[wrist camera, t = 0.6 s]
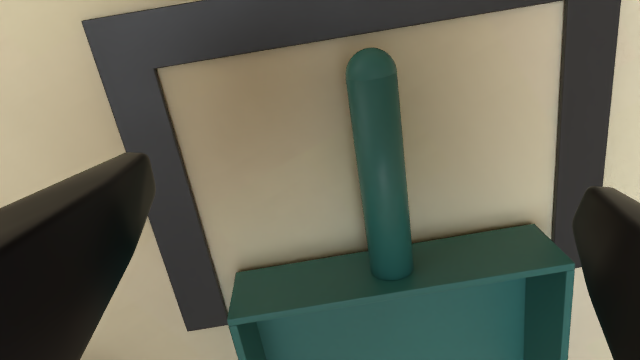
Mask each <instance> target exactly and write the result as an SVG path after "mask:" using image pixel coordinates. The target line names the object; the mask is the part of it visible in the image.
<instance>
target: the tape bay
mask: <svg viewBox="0 0 640 360" xmlns="http://www.w3.org/2000/svg"><path fill="white" fill-rule="evenodd" d="M556 1H562V0H202V1H196V2H190V3H185V4H179V5H173V6H167V7H161V8H155V9H149V10H143V11H137V12H131V13H125V14H119V15H113V16H107V17H101V18H95V19H89V20H83V21H82V25H83V27H84V30H85V33H86V36H87V39H88V42H89V45H90V48H91V51H92V54H93V57H94V60H95V63H96V65H97V68H98V71H99V74H100V77H101V80H102V83H103V86H104V89H105V92H106V95H107V98H108V101H109V103H110V106H111V109H112V112H113V115H114V118H115V121H116V124H117V127H118V130H119V133H120V136H121V139H122V141H123V144H124V147H125V150H126V152H134V153H145V154H146V155H147V156H148V157H149V159H150V163H151V167H152V172H153V176H154V181H155V186H156V192H155V197H154V200H153V202H152V205H151V208H150V211H149V213H148V217H149V220H150V223H151V226H152V229H153V232H154V235H155V238H156V241H157V244H158V247H159V250H160V253H161V255H162V258H163V261H164V264H165V267H166V270H167V273H168V276H169V279H170V282H171V285H172V288H173V291H174V293H175V296H176V299H177V302H178V305H179V308H180V311H181V314H182V317H183V320H184V323H185V326H186V329H187V331H194V330H200V329H206V328H212V327H218V326H224V325H228V322H227V318H228V314H227V311H226V307H225V304H224V300H223V297H222V294H221V290H220V287H219V283H218V280H217V277H216V273H215V270H214V266H213V263H212V259H211V256H210V253H209V249H208V246H207V242H206V239H205V235H204V232H203V229H202V225H201V222H200V218H199V215H198V212H197V208H196V205H195V201H194V198H193V194H192V191H191V188H190V184H189V181H188V177H187V174H186V170H185V167H184V164H183V160H182V157H181V153H180V150H179V147H178V143H177V140H176V136H175V133H174V129H173V126H172V123H171V119H170V116H169V112H168V109H167V105H166V102H165V99H164V95H163V92H162V88H161V85H160V82H159V78H158V75H157V71H156V68H161V67H167V66H173V65H179V64H185V63H191V62H197V61H203V60H209V59H215V58H221V57H227V56H233V55H239V54H245V53H251V52H257V51H263V50H269V49H275V48H281V47H287V46H293V45H299V44H305V43H311V42H317V41H323V40H329V39H335V38H341V37H347V36H353V35H359V34H365V33H371V32H377V31H383V30H389V29H395V28H401V27H407V26H413V25H419V24H425V23H430V22H436V21H442V20H448V19H454V18H460V17H466V16H472V15H478V14H484V13H490V12H496V11H502V10H508V9H514V8H520V7H526V6H532V5H538V4H544V3H550V2H556ZM620 6H621V0H565V6H564V25H563V43H562V62H561V80H560V99H559V117H558V135H557V154H556V172H555V191H554V209H553V228H552V241H553V242H554V243H555V244H556V245H557V246H558V247H559V248H560V249H561V250H562V251H563V252H564V253H565V254H566V255H567V256H568V257H569V258H570V259H571V260H572V261H573V262H574V263H575V268H579V267H582V266H581V262H580V258H579V254H578V250H577V246H576V242H575V238H574V234H573V229H572V222H573V218H574V215H575V213H576V211H577V209H578V206H579V204H580V202H581V200H582V197H583V195H584V193H585V191H586V190H587V189H588V188H589V187H592V186H598V187H602V186H603V176H604V166H605V156H606V146H607V136H608V126H609V116H610V106H611V96H612V86H613V76H614V66H615V56H616V46H617V36H618V26H619V16H620Z"/></svg>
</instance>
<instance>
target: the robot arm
mask: <svg viewBox="0 0 640 360" xmlns="http://www.w3.org/2000/svg"><path fill="white" fill-rule="evenodd" d="M155 192H156V186H155V181H154V176H153V172H152V167H151V163H150V159H149V157H148V156H147V155H146V154H145V153H134V152H126V153H124V154H121V155H119V156H117V157H115V158H112V159H110V160H108V161H106V162H103V163H101V164H99V165H97V166H94V167H92V168H90V169H88V170H85V171H83V172H81V173H79V174H76V175H74V176H72V177H70V178H67V179H65V180H63V181H61V182H58V183H56V184H54V185H52V186H49V187H47V188H45V189H43V190H40V191H38V192H36V193H34V194H31V195H29V196H27V197H25V198H22V199H20V200H18V201H16V202H13V203H11V204H9V205H7V206H4V207H2V208H0V360H80V359H81V357H82V355H83V353H84V351H85V349H86V347H87V345H88V343H89V341H90V339H91V337H92V335H93V333H94V331H95V329H96V327H97V325H98V323H99V321H100V319H101V317H102V315H103V313H104V311H105V309H106V307H107V305H108V303H109V302H110V300H111V298H112V296H113V294H114V292H115V290H116V288H117V286H118V284H119V282H120V280H121V278H122V276H123V274H124V272H125V270H126V268H127V266H128V264H129V262H130V260H131V258H132V256H133V253H134V251H135V249H136V246H137V243H138V241H139V238H140V235H141V232H142V230H143V227H144V224H145V222H146V219H147V216H148V213H149V211H150V208H151V205H152V202H153V200H154V197H155ZM572 229H573V234H574V238H575V242H576V246H577V250H578V254H579V258H580V262H581V266H582V270H583V274H584V278H585V282H586V285H587V289H588V292H589V296H590V298H591V301H592V304H593V307H594V309H595V312H596V315H597V317H598V320H599V322H600V325H601V328H602V330H603V333H604V336H605V338H606V341H607V343H608V346H609V349H610V351H611V354H612V356H613V359H614V360H640V203H639V202H637V201H635V200H634V199H632V198H630V197H628V196H626V195H625V194H623V193H621V192H619V191H618V190H616V189H614V188H610V187H598V186H592V187H589V188H588V189H587V190H586V191H585V193H584V195H583V197H582V200H581V202H580V204H579V206H578V209H577V211H576V213H575V215H574V218H573V222H572Z"/></svg>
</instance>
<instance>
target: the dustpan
mask: <svg viewBox="0 0 640 360" xmlns="http://www.w3.org/2000/svg"><path fill="white" fill-rule="evenodd" d="M346 85H347V92H348V100H349V108H350V115H351V123H352V130H353V138H354V146H355V153H356V161H357V169H358V176H359V184H360V191H361V199H362V207H363V214H364V222H365V230H366V237H367V245H368V251H365V252H358V253H352V254H346V255H340V256H334V257H328V258H322V259H316V260H310V261H304V262H298V263H291V264H285V265H279V266H273V267H267V268H261V269H255V270H249V271H243V272H237V273H236V277H235V282H234V287H233V292H232V297H231V302H230V307H229V312H228V318H227V322H228V325H229V329H230V332H231V336H232V339H233V343H234V346H235V349H236V353H237V356H238V360H568V348H569V335H570V322H571V310H572V297H573V284H574V269H575V263H574V262H573V261H572V260H571V259H570V258H569V257H568V256H567V255H566V254H565V253H564V252H563V251H562V250H561V249H560V248H559V247H558V246H557V245H556V244H555V243H554V242H553V241H552V240H550V239H549V238H548V237H547V236H546V235H545V234H544V233H543V232H542V231H541V230H540V229H539V228H538V227H537V226H536V225H535V224H529V225H523V226H517V227H511V228H505V229H499V230H492V231H486V232H480V233H474V234H468V235H462V236H456V237H450V238H444V239H438V240H432V241H425V242H419V243H413V244H412V241H411V229H410V218H409V206H408V195H407V183H406V172H405V160H404V149H403V137H402V126H401V114H400V103H399V91H398V80H397V69H396V65H395V63H394V61H393V59H392V58H391V56H390V55H389V54H388V53H386V52H385V51H383V50H380V49H378V48H366V49H363V50H361V51H359V52H357V53H356V54H355V55H354V56H353V57H352V58H351V59H350V61H349V62H348V65H347V67H346Z"/></svg>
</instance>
